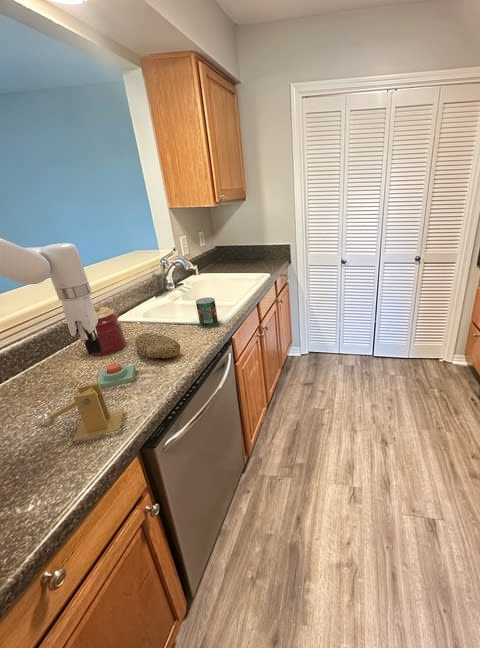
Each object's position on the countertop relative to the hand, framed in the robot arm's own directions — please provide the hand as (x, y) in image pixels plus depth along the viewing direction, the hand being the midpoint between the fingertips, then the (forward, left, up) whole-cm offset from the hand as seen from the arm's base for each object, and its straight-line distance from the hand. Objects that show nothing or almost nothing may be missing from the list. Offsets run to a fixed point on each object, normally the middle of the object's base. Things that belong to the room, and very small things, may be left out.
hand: (95, 351), depth 93 cm
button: (+2, +5, -10) cm, 11 cm away
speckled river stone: (+14, +19, -14) cm, 27 cm away
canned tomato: (+34, +39, -14) cm, 53 cm away
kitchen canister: (-5, +33, -14) cm, 36 cm away
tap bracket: (+1, -18, -13) cm, 23 cm away
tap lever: (-4, -18, -7) cm, 20 cm away
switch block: (+2, +5, -13) cm, 14 cm away
